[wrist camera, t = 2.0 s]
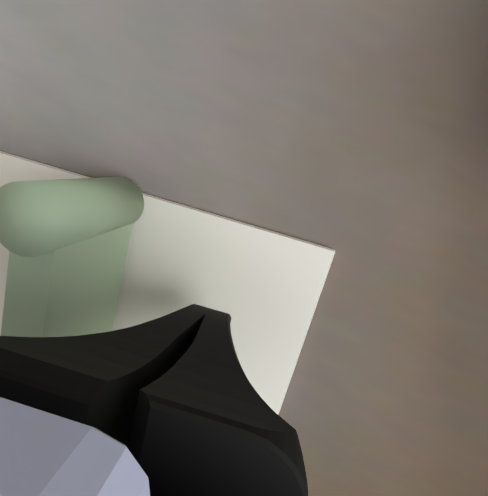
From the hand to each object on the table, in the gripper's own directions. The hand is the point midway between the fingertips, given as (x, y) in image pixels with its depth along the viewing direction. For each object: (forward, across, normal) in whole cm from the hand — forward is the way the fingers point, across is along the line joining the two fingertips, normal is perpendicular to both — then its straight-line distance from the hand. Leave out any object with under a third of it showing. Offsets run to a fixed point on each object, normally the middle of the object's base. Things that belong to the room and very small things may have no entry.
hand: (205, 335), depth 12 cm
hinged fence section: (+2, +5, +3) cm, 6 cm away
